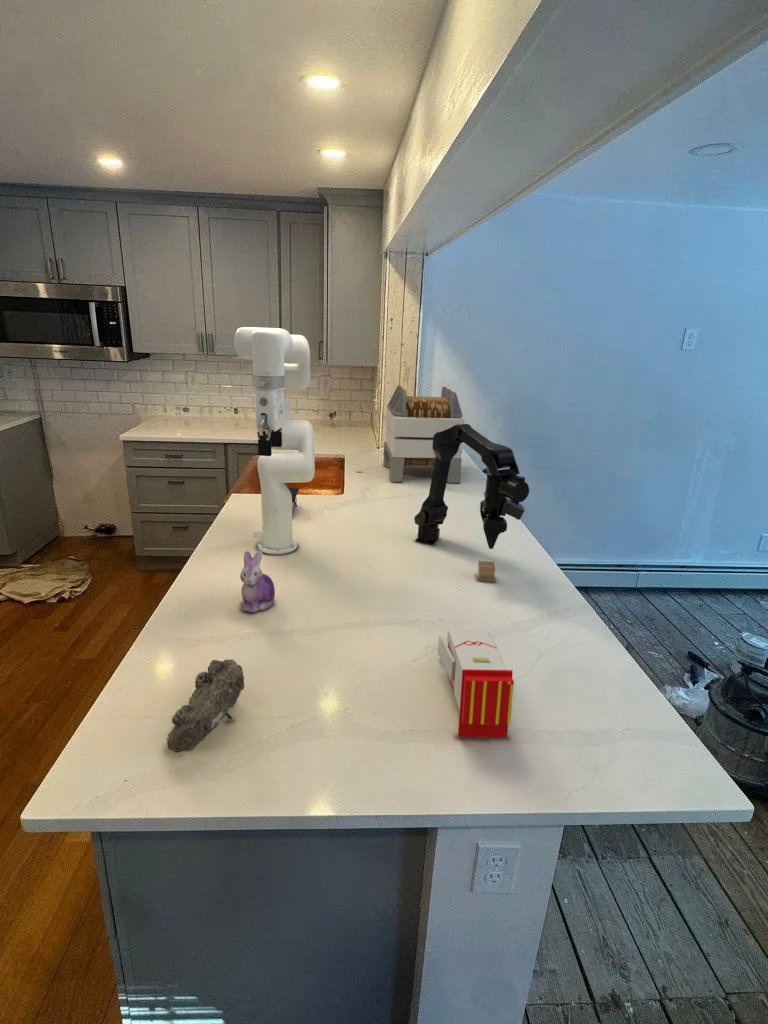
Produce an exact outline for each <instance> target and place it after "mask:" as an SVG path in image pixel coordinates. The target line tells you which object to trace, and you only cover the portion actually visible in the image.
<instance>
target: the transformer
mask: <svg viewBox="0 0 768 1024" xmlns="http://www.w3.org/2000/svg"><path fill="white" fill-rule="evenodd" d="M440 393H441V394H440V396H415V395H414V396H413V395H412V396H411V395H407V394H408V393H407V390H406V389H404V388H403V387H402V385H399V384H398V385H397V386H396V388H395V390H394V392H393V394H392V395H391V398H390V400H389V402H388V404H387V405H386V413H385V414H386V415H385V423H386V428H385V438H384V442H383V466H384V467H388V468H389V475H388V476H389V477H388V478H389V480H390V482H391V483H402V482H403V475H404V469H405V466H406V467H407V466H411V467H412V466H413V467H415V466H416V467H417V466H418V467H434V464H435V459H436V456H435V453H434V451H433V449H432V447H433V437H434V435H435V434H436V433H437V432H441V431H444V430H446V429H449V428H451V427H453V426H455V425H456V424H465V419H464V418H463V411H462V408H461V405H460V402H459V398H458V395H457V392H455V391H453V390H452V389H451V388H447V386H442V387H441V392H440ZM462 453H463V443H461V444H460V446H459V449H458V452H457V453H456V454H455V456H454V457H453V458H452V459H451V463H450V468H449V473H448V478H447V483H449V484H455V483H456V484H459V483H461V472H462V461H463V460H462Z"/></svg>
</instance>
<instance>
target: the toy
mask: <svg viewBox="0 0 768 1024" xmlns="http://www.w3.org/2000/svg"><path fill="white" fill-rule="evenodd" d="M446 640H447V643H446V641H445V639H444V636H443V635H442V634H439V637H438V646H437V656H438V657H439V659H440V661H441V663H442V666H443V668H444V670H445V672H446V674H447V677H448V679H449V681H450V684H451V687H452V690H453V693H454V697H455V701H456V705H457V708H458V711H459V714H458V715H459V716H458V730H457V731H458V732H457V737H458V738H508V731H509V726H510V725H511V717H512V707H513V697H514V696H513V695H514V684H515V680H514V679H513V673H514V671H513V670H512V669H508V667H507V665H506V662H505V661H504V659H503V658H502V655H501V653H500V651H499V649H498V647H497V643H496V639H495V637H494V635H493V634H491V632H490V631H489V629H467V628H466V629H465V628H463V629H461V628H460V629H459V628H448V630H447V639H446Z"/></svg>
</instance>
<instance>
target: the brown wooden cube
mask: <svg viewBox="0 0 768 1024" xmlns="http://www.w3.org/2000/svg"><path fill="white" fill-rule="evenodd" d="M476 570H477V572H476V576H477V581H478V582H489V583H494V581H495V573H496V565H495V561H492V560H491V561H490V560H478V561H477V569H476Z"/></svg>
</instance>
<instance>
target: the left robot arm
mask: <svg viewBox="0 0 768 1024" xmlns="http://www.w3.org/2000/svg"><path fill="white" fill-rule="evenodd" d="M233 338H234V340H233V341H234V342H233V345H234V349H235V351H236V355H237V356H238V357H239V358H241V359H244V360H251V361H252V387H253V388H252V389H253V390H255V391H256V394H255V397H256V398H255V424H256V429H257V432H256V434H257V455H258V456H259V457H258V458H257V463H256V465H257V473H258V478H259V484H260V497H261V499H260V501H261V524H262V525H261V528H262V530H259V529H255V530H253V535H252V538H253V539H257V540H259V541H258V543H257V548H258V551H259V550H262V553H264V554H269V555H284V554H289V553H291V552H293V551H295V550H296V549H298V541H297V540H296V539H294V538H293V511H292V495H291V492H290V491H289V489H288V488H287V487H288V486H287V485H286V484H289V483H290V484H291V483H292V484H293V483H294V484H298V483H303V484H305V483H310V482H311V481H313V479H314V478H315V473H316V472H315V471H316V465H315V464H316V462H315V461H316V459H315V433H314V428H313V424H312V423H311V422H310V421H308V420H307V419H291V406H290V404H289V402H288V401H287V400H286V399H285V397H284V391H286V390H287V391H303V390H304V391H305V390H307V388H309V386H310V383H311V350H310V345H309V342H308V339H307V338H306V336H304V335H302V334H291V333H290V332H289V331H288V330H287V329H285V328H278V327H262V326H261V327H260V326H259V327H257V326H241V327H239V328H237V330H236V331H235V333H234V337H233ZM273 450H276V451H273ZM277 450H280V451H277Z"/></svg>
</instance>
